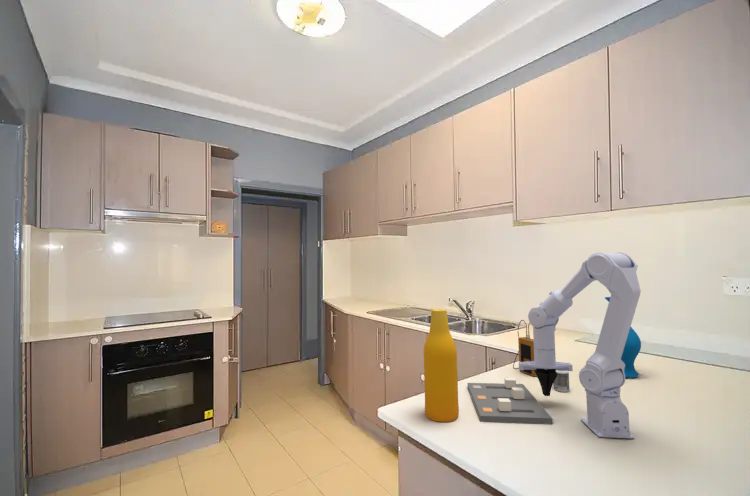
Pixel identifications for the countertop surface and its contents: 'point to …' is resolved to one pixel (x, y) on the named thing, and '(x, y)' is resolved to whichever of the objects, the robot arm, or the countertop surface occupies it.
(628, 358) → the vase
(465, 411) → the countertop surface
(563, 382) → the pill bottle
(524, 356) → the multimeter
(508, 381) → the block
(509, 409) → the white block
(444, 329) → the beer bottle
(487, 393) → the switch board
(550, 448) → the countertop surface
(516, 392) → the middle tab
